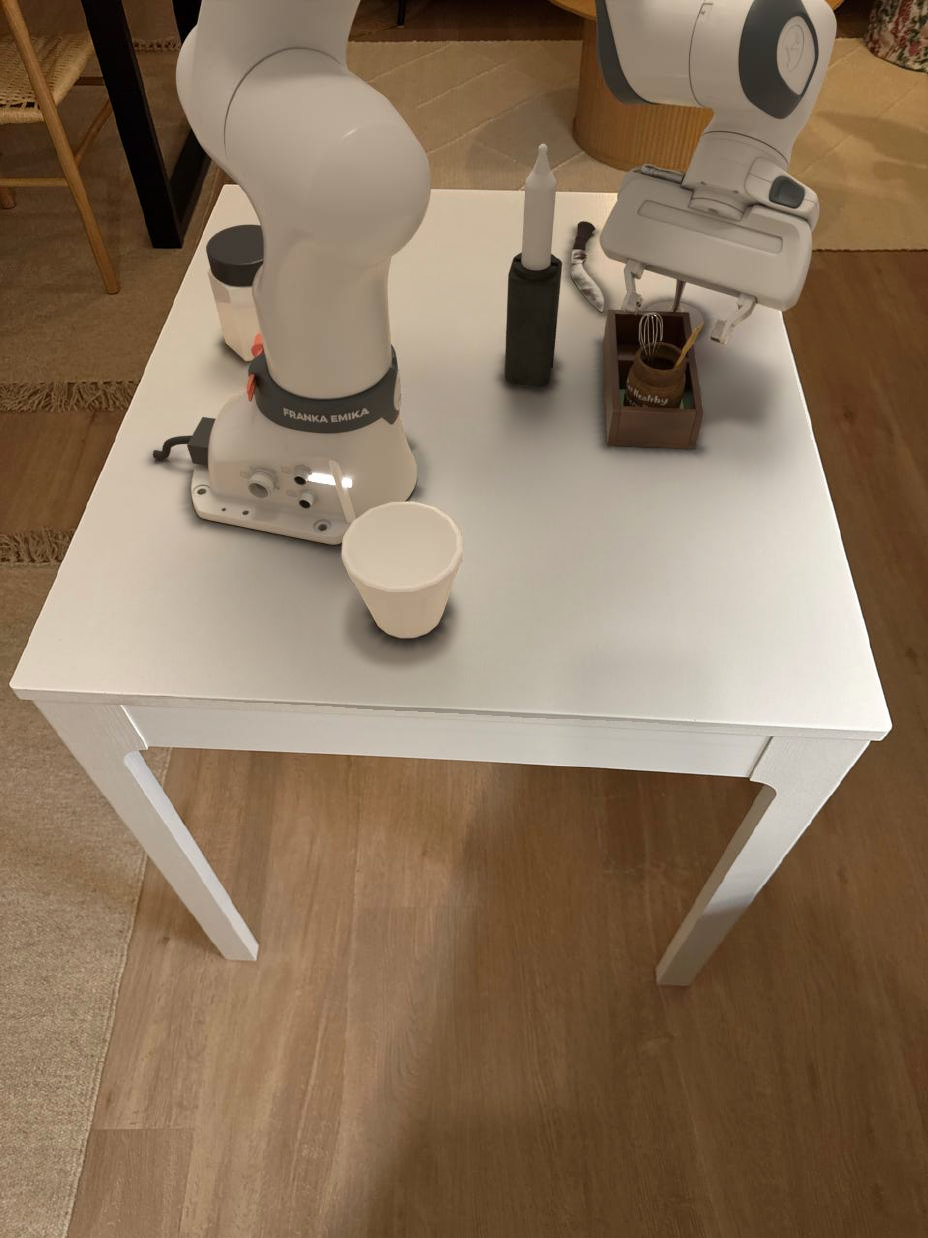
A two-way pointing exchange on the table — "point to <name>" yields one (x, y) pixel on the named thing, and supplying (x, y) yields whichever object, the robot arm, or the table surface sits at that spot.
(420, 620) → the cup
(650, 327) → the wooden divided box
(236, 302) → the jar
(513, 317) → the candle
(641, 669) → the table surface
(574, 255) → the knife
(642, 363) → the utensil holder
